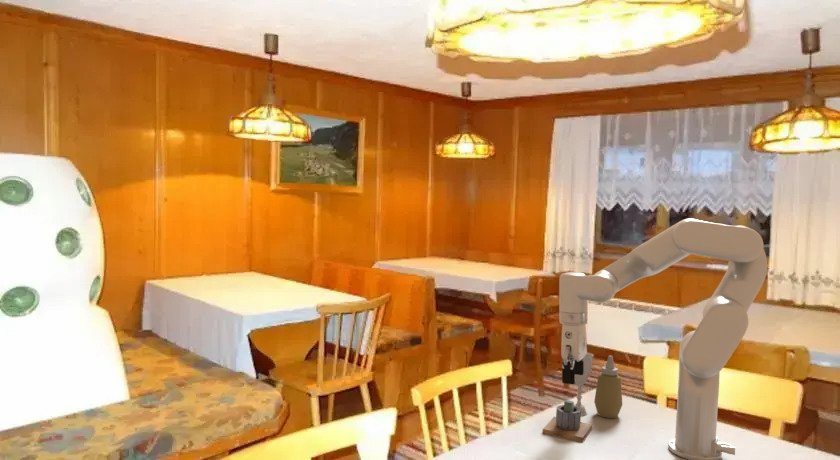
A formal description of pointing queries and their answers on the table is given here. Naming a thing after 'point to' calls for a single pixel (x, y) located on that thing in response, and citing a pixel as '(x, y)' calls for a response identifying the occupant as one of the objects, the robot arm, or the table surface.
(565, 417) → the ring
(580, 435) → the post stand
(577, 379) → the chalice
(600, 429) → the table surface
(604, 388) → the squeeze bottle
